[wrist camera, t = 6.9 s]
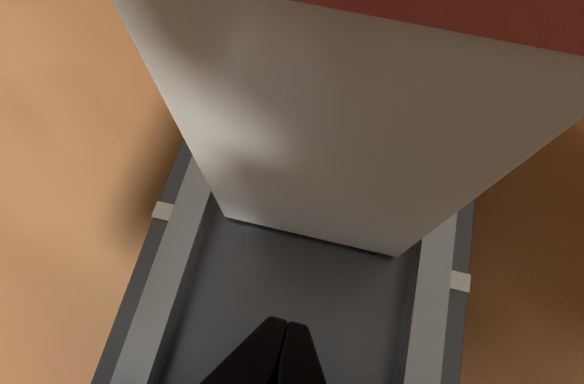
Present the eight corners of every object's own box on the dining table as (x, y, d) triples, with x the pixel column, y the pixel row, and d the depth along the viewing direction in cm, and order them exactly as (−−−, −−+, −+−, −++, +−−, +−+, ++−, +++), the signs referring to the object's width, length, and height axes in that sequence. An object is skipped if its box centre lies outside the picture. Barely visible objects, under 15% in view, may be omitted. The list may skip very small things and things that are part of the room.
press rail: (422, 574, 12) (496, 702, 8) (77, 472, 13) (-29, 540, 8) (471, 79, 18) (527, 0, 14) (236, 32, 19) (221, -57, 15)
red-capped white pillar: (399, 260, 13) (862, -64, 3) (221, 218, 14) (-19, -207, 3) (419, 127, 15) (741, -396, 4) (260, 94, 15) (197, -454, 5)
